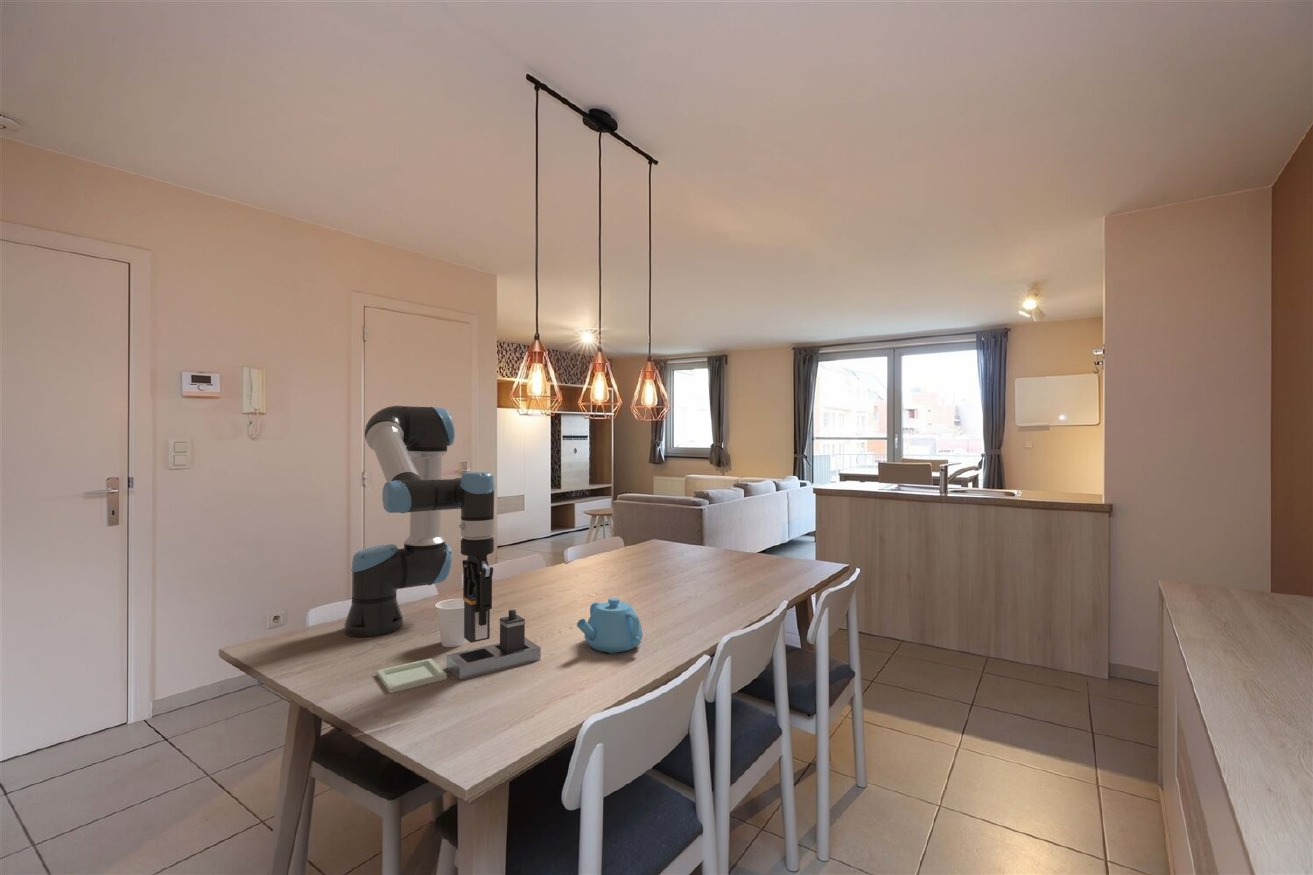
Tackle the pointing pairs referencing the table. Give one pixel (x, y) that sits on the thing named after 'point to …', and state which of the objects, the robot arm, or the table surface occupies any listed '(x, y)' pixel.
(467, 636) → the plug
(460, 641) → the cup
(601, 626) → the teapot
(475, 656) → the strip
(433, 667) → the tray
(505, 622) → the twin plug
